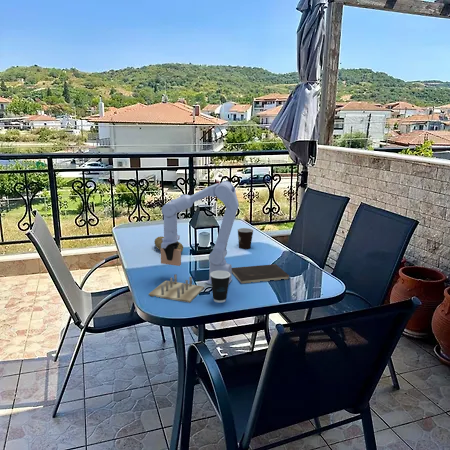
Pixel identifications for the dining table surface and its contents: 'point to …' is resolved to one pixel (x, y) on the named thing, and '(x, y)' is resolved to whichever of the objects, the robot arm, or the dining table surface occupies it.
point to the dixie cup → (220, 285)
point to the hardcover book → (259, 273)
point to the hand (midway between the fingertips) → (170, 259)
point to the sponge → (159, 241)
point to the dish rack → (177, 290)
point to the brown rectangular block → (175, 260)
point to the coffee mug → (245, 238)
